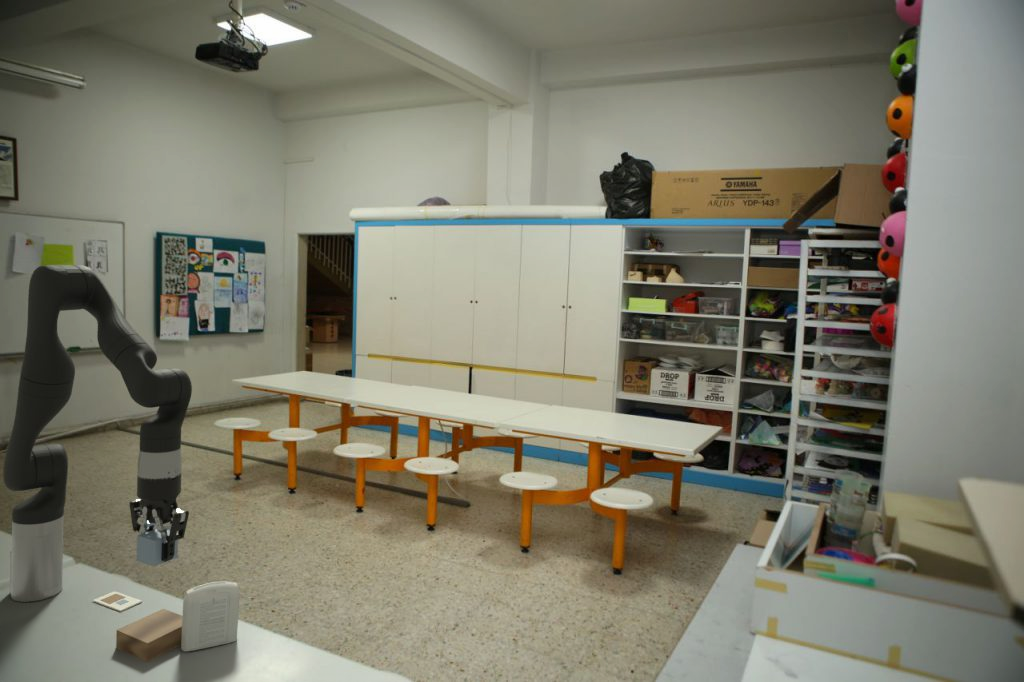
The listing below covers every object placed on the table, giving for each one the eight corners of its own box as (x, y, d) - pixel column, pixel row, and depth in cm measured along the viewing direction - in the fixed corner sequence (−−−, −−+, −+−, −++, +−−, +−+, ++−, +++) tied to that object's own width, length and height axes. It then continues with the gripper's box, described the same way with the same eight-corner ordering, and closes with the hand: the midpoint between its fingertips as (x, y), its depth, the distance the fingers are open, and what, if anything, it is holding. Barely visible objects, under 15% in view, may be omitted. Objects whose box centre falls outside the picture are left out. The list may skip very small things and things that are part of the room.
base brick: (116, 649, 124) (116, 630, 124) (163, 627, 134) (163, 608, 133) (147, 663, 121) (147, 643, 120) (193, 639, 130) (194, 620, 130)
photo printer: (235, 632, 133) (237, 574, 132) (239, 642, 129) (241, 582, 128) (179, 644, 127) (181, 583, 126) (182, 655, 124) (184, 593, 123)
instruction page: (92, 601, 141) (92, 599, 141) (114, 592, 146) (114, 590, 146) (120, 611, 138) (120, 610, 138) (142, 602, 142) (142, 600, 142)
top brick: (136, 560, 124) (137, 535, 124) (159, 552, 129) (160, 527, 129) (154, 566, 122) (155, 540, 122) (177, 557, 127) (178, 532, 127)
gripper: (116, 469, 124) (114, 555, 125) (168, 482, 118) (166, 572, 119) (151, 461, 131) (149, 543, 132) (202, 473, 125) (200, 558, 126)
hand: (157, 556), depth 126 cm, fingers closed on top brick, 5 cm apart
